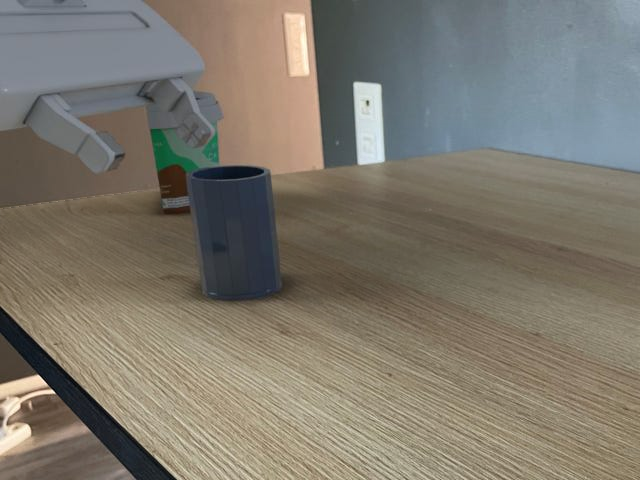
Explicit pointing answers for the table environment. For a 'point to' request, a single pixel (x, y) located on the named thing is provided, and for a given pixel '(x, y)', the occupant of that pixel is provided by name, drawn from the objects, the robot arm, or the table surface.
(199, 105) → the food container
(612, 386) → the table surface
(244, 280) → the cup
